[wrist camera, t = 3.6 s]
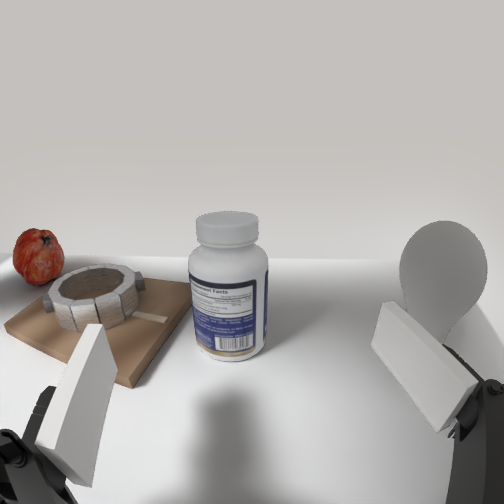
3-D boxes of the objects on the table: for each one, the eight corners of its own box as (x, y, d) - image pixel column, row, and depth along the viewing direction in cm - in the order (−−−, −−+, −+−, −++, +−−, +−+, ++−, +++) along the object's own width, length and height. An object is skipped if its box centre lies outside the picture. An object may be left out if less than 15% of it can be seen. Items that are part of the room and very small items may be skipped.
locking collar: (40, 319, 20) (32, 295, 19) (91, 281, 28) (87, 260, 27) (105, 341, 19) (97, 314, 18) (154, 292, 26) (151, 268, 26)
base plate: (7, 332, 18) (3, 322, 18) (85, 276, 31) (83, 267, 31) (132, 388, 16) (127, 376, 15) (199, 293, 29) (199, 282, 28)
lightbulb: (369, 342, 21) (396, 206, 17) (433, 344, 19) (469, 217, 16) (378, 397, 15) (428, 230, 11) (454, 394, 14) (515, 243, 10)
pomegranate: (18, 304, 27) (29, 273, 23) (2, 256, 27) (12, 215, 23) (59, 289, 34) (81, 258, 29) (42, 246, 34) (61, 207, 29)
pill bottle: (225, 315, 25) (221, 206, 22) (277, 335, 22) (284, 215, 19) (182, 345, 21) (167, 220, 17) (238, 374, 18) (236, 233, 15)
